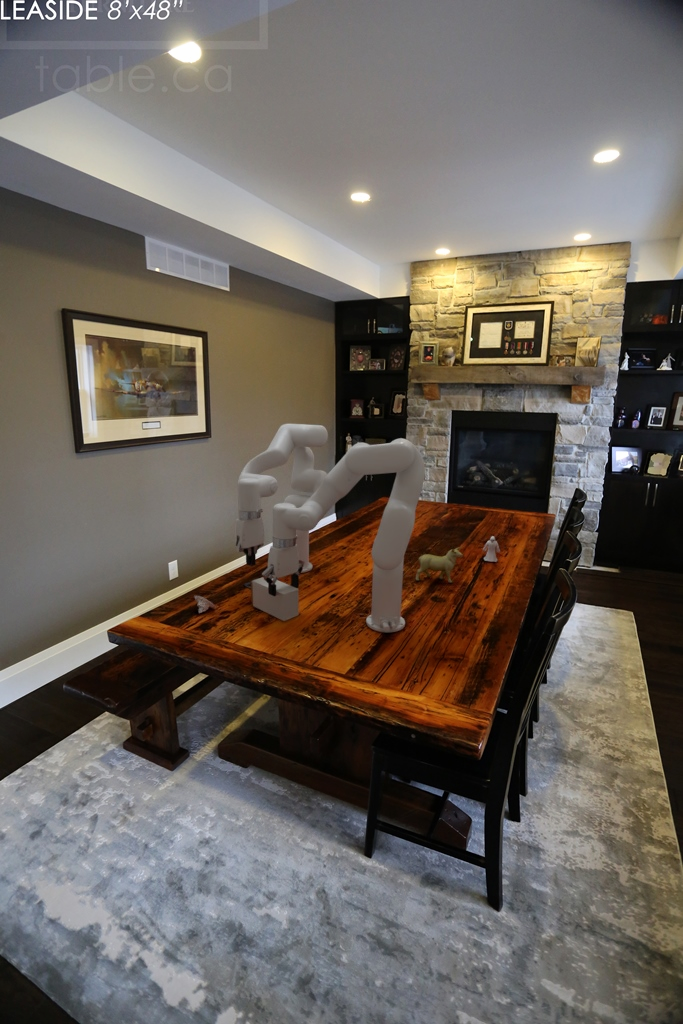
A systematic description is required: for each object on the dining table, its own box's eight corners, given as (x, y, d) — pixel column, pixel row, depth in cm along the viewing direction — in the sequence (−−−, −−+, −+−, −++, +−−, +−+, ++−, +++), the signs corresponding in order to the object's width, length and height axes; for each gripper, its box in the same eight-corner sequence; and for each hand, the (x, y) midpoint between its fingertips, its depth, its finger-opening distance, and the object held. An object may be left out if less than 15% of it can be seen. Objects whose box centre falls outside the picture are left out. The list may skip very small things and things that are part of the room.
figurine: (481, 562, 222) (483, 536, 219) (482, 556, 230) (484, 531, 227) (499, 564, 220) (501, 538, 217) (499, 558, 228) (501, 533, 225)
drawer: (241, 596, 179) (240, 577, 177) (253, 592, 183) (252, 573, 181) (279, 615, 165) (279, 594, 163) (291, 610, 169) (291, 589, 167)
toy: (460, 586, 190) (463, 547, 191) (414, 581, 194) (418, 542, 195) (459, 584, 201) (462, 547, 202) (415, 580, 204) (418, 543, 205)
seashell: (200, 621, 170) (185, 603, 169) (211, 610, 173) (196, 593, 173) (208, 616, 164) (192, 598, 163) (220, 606, 167) (204, 588, 166)
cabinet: (252, 606, 174) (252, 580, 172) (267, 600, 179) (267, 575, 176) (284, 621, 163) (283, 594, 161) (298, 615, 168) (298, 588, 166)
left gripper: (260, 508, 180) (261, 557, 184) (224, 516, 169) (226, 567, 173) (273, 512, 175) (274, 562, 179) (238, 520, 164) (239, 572, 168)
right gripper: (296, 534, 170) (295, 581, 174) (255, 544, 157) (255, 594, 162) (311, 539, 165) (310, 587, 169) (270, 550, 153) (270, 601, 157)
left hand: (250, 564), depth 176 cm, fingers closed
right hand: (283, 590), depth 165 cm, fingers open, 9 cm apart
